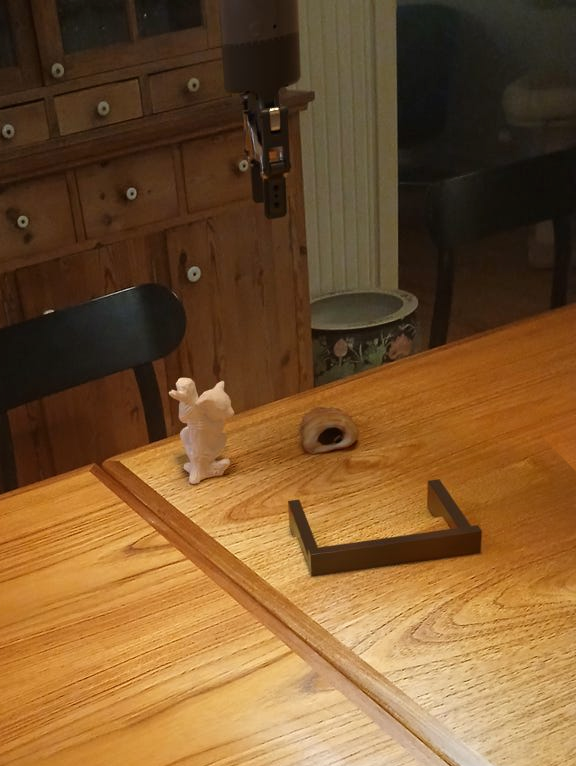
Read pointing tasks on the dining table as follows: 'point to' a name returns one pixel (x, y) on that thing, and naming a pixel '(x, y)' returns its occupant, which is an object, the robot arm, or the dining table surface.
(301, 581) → the dining table surface
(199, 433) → the white animal figurine
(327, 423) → the pastry
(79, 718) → the dining table surface
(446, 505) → the frame
